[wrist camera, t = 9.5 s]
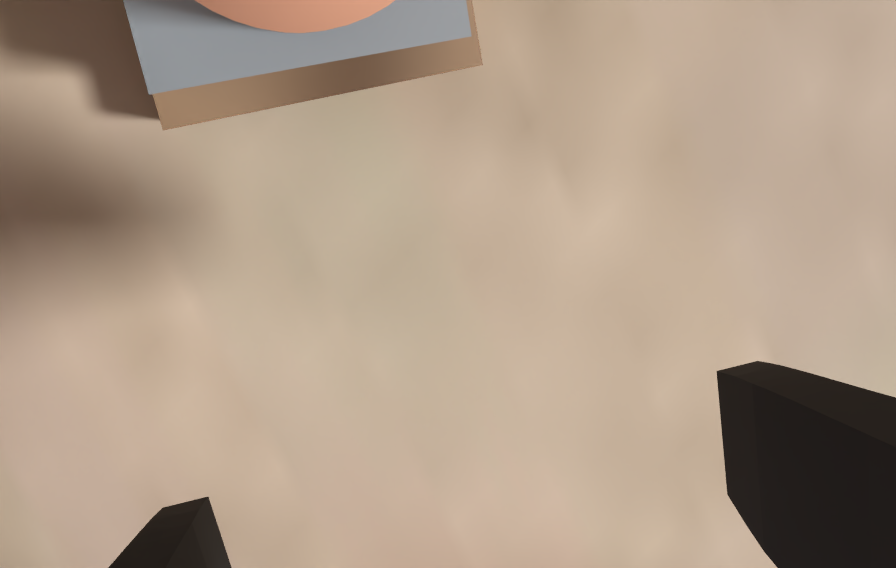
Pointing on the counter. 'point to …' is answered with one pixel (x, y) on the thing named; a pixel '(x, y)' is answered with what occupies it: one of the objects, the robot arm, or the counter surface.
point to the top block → (272, 40)
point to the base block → (315, 81)
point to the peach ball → (296, 13)
